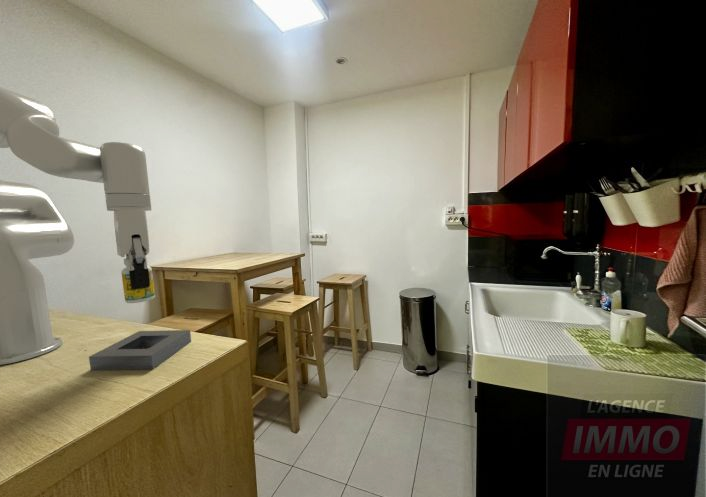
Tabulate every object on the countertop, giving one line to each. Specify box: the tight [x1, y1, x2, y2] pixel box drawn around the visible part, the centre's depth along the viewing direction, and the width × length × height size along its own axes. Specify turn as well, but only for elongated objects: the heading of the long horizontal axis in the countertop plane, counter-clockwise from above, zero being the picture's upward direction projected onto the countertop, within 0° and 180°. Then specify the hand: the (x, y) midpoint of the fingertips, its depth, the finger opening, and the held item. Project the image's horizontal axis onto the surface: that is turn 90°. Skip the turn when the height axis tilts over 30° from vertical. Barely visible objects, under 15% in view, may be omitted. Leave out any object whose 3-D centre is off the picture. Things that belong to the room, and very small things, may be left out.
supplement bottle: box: [120, 256, 156, 304], centre depth 61 cm, size 5×5×10 cm
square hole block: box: [88, 329, 192, 372], centre depth 63 cm, size 13×13×3 cm
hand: (138, 284), depth 61 cm, fingers closed on supplement bottle, 5 cm apart
